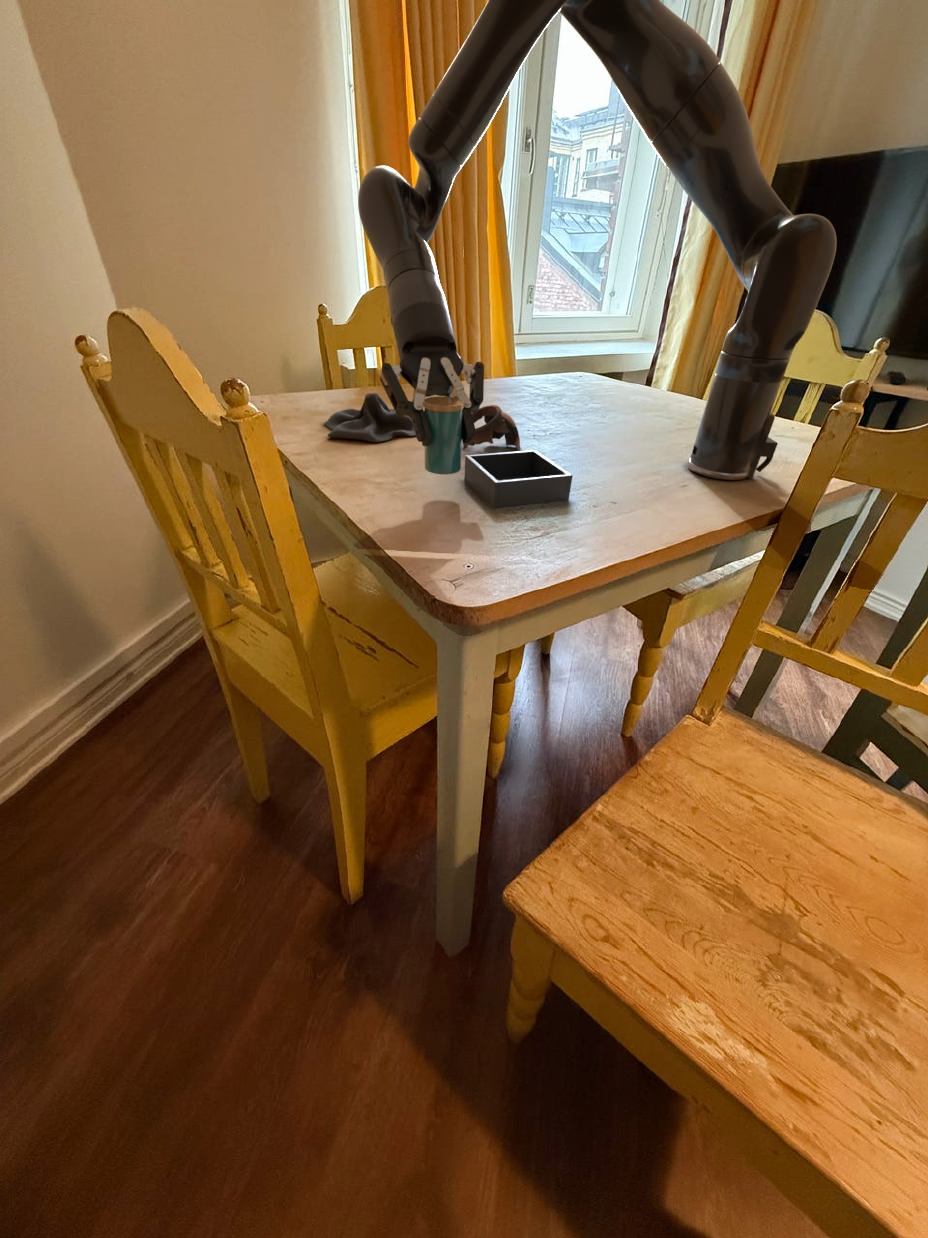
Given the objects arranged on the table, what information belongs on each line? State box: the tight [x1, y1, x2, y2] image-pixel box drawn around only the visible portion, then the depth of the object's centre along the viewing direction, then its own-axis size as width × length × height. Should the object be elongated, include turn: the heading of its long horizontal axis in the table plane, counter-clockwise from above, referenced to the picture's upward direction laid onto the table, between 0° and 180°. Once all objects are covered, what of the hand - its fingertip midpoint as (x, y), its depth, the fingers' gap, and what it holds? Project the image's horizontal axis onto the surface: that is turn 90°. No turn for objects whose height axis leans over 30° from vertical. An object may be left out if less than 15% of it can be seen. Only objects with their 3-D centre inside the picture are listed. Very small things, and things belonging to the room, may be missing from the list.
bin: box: [464, 449, 573, 510], centre depth 73 cm, size 11×11×4 cm
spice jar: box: [423, 396, 464, 475], centre depth 67 cm, size 5×5×8 cm
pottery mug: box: [462, 404, 522, 452], centre depth 89 cm, size 12×10×8 cm
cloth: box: [323, 392, 416, 443], centre depth 97 cm, size 22×19×6 cm
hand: (448, 441), depth 65 cm, fingers closed on spice jar, 5 cm apart
